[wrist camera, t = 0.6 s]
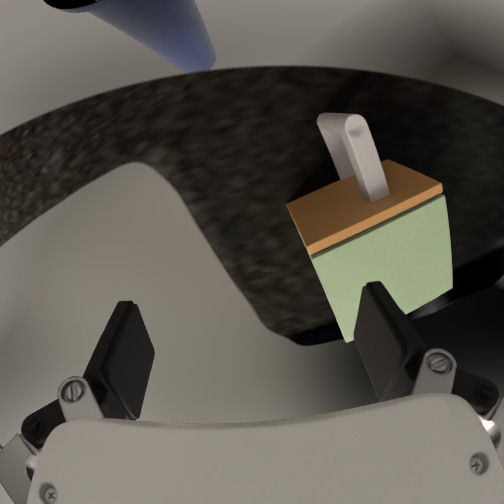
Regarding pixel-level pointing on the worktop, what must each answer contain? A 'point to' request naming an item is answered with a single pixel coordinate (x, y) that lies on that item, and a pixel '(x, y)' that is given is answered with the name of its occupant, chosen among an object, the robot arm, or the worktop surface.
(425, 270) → the cupboard
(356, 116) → the door
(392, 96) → the worktop surface
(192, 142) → the worktop surface
